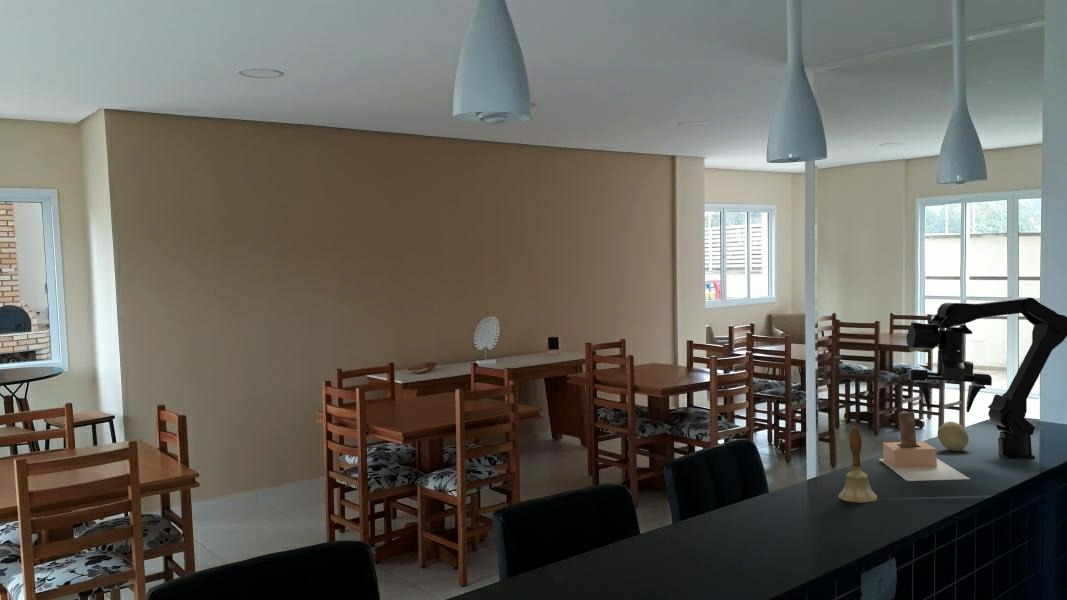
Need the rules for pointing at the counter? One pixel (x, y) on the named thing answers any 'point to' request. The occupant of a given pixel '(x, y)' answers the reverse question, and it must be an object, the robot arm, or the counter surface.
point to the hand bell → (857, 475)
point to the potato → (953, 436)
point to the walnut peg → (907, 429)
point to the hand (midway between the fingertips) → (947, 410)
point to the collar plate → (928, 472)
